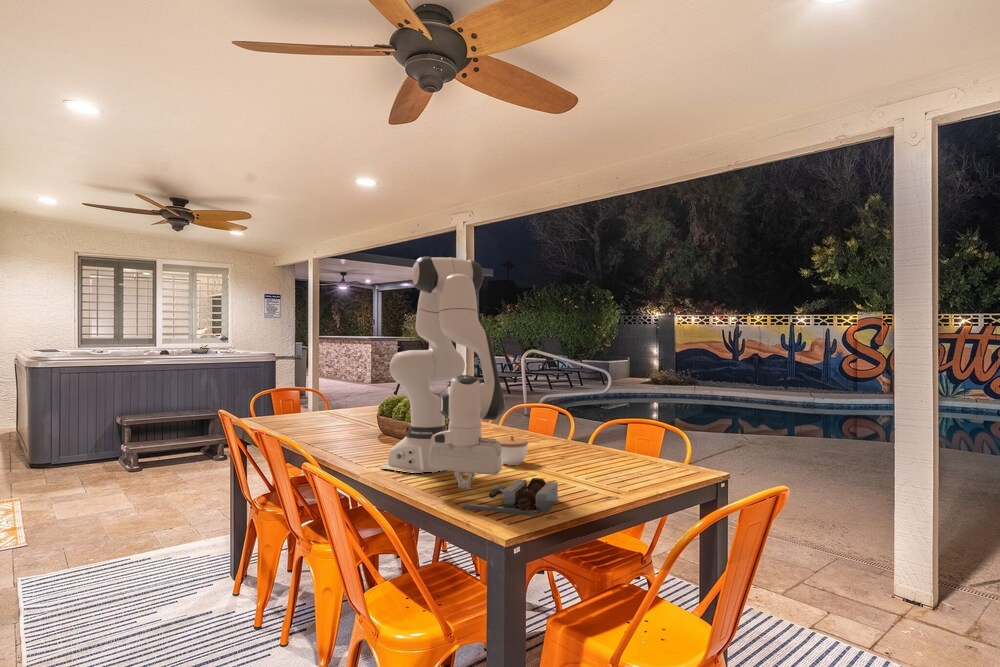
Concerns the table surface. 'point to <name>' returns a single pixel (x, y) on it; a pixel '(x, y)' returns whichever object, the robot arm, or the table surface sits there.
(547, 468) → the table surface
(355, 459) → the table surface
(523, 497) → the bolt
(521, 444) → the lidded jar
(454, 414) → the robot arm
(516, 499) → the jaw
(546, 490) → the vise
